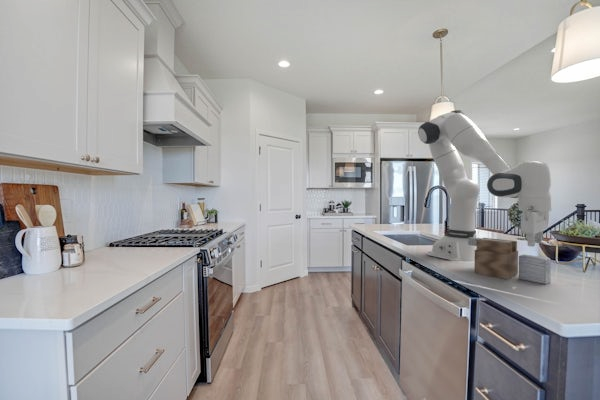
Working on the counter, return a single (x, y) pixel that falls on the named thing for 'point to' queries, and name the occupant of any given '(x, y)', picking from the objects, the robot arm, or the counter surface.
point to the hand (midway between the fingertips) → (534, 244)
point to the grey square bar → (473, 240)
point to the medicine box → (535, 268)
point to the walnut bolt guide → (496, 258)
